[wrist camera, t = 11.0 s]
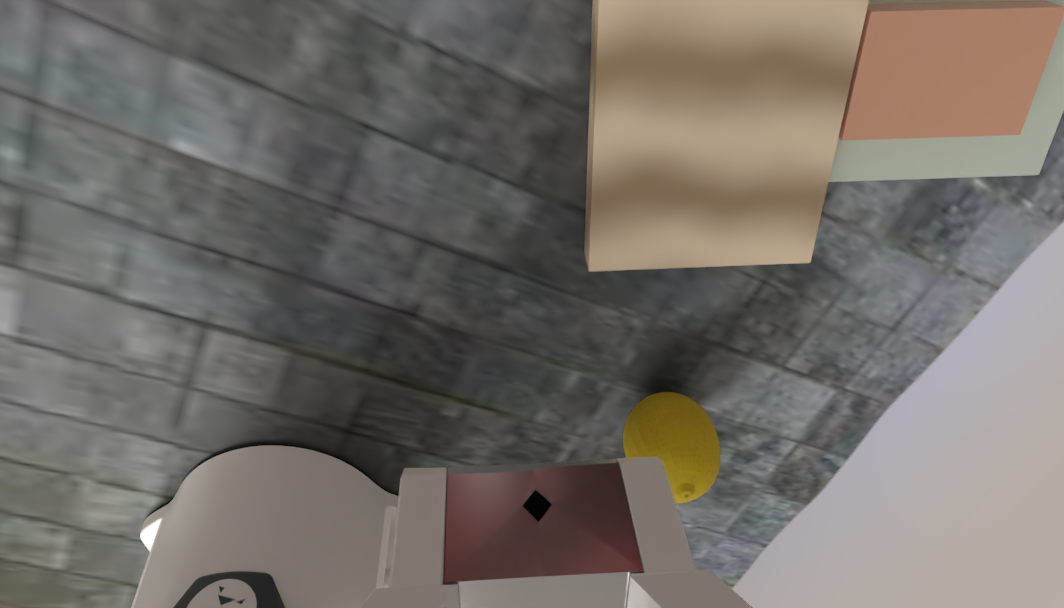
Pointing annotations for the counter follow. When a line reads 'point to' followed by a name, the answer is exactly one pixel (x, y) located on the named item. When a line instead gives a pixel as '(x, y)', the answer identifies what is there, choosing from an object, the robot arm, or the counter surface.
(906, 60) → the tile
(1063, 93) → the mat
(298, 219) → the counter surface
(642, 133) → the beige flat board
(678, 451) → the lemon
